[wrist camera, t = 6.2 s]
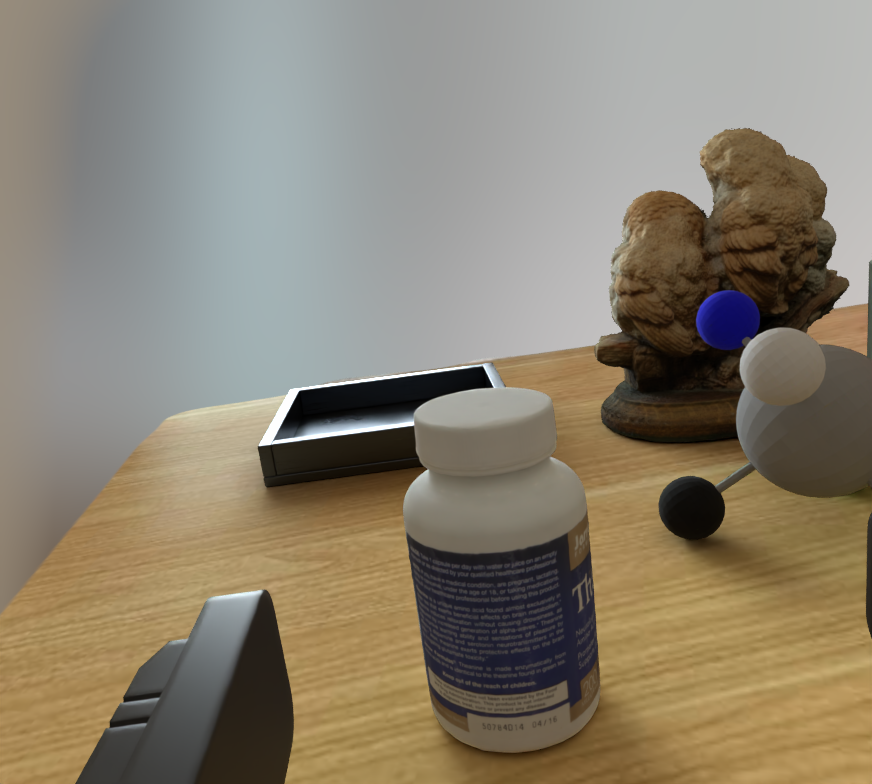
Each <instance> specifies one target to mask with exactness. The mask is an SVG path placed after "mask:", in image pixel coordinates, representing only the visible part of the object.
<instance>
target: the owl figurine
mask: <svg viewBox="0 0 872 784" xmlns="http://www.w3.org/2000/svg"><path fill="white" fill-rule="evenodd" d="M700 155H701V157H700V160H701V162H700V165H701V166H702V167H703V168H704V169H705V172H706V175H707V179H708V181H709V183H710V185H711V187H712V190H713V195H714V197H713V202H714V204H715V205H714V206H713V211H712V213H711V216H710V217H709V218H706V215H705V213H704V210H702V211H701V210H700V209H699V207H698V206H696V205H695V204H693V203H692V202H691V201H690V200H688V199H687V198H686V197H684V196H682V195H680V194H676V193H674V192H667V191H656V192H655V191H653V192H652V191H651V192H648V193H645V194H644V195H642V196H640V197H638V198H636V199H635V200H634V201H633V203H632V204H631V205H630V206H629V207H628V208H627V213H626V215H625V217H624V220H623V230H622V237H623V240H622V241H623V243H622V244H621V245H620V246H619V247H618V248H616V249H615V251H614V253H613V254H612V258H611V264H612V266H611V275H612V276H611V279H612V284H611V286H610V287H609V293H610V302H611V306H612V312H611V313H612V318H613V319H614V321H615V322H616V324H618V325H619V327H620V328H621V330H622V332H621V333H618V334H610V335H607V336H602V337H601V338H600V340H599V343H597V344H596V345H595V348H594V352H595V356H596V358H597V360H598V361H599V362H600V363H603V364H605V365H608V366H613V367H619V366H620V367H622V368H624V373H625V381H623V382H622V383H620V384H619V385H618V386H617V387H616V389H615V391H614V393H613V394H611V395H610V396H609V397H608V398H607V399H606V400H605V401H604V403H603V404H602V407H601V415H602V420H603V421H602V422H603V423H604V424H605V425H606V426H608V428H610V429H612V430H613V431H614V432H618V433H620V434H622V435H625V436H628V437H633V438H643V439H645V440H648V441H654V442H673V441H674V442H688V441H699V440H717V439H721V438H731V437H737V436H738V433H737V426H736V414H737V407H738V402H739V399H740V396H741V394H742V391H743V389H744V388H745V385H744V383H743V381H742V379H741V375H740V359H741V357H742V354H743V351H744V349H745V348H746V347H745V346H742V347H740V348H737V349H732V350H721V349H718V348H714V347H712V346H711V345H709V344H708V343H706V342H705V341H704V340H703V339H702V337H701V336H700V334H699V332H698V329H697V324H696V318H697V313H698V310H699V308H700V306H701V304H702V303H703V302H704V301H705V300H706V299H707V298H708V297H709V296H711V295H713V294H715V293H717V292H720V291H726V290H732V291H738V292H741V293H744V294H745V295H747V296H749V297H750V298H751V299H752V300H753V301H754V302H755V304H756V306H757V307H758V310H759V314H760V324H759V328H758V330H757V333H756V334H755V336H754V337H753V339H754V338H755V337H756V336H757V335H759V334H761V333H763V332H765V331H767V330H770V329H775V328H792V329H796V330H799V331H802V332H804V333H806V332H807V330H808V329H807V328H808V327H809V326H811V324H813V322H814V321H816V320H817V319H821V318H822V317H823V315H826V314H828V313H830V312H829V311H831V310H832V309H833V305H834V303H835V302H836V301H837V300H838V299H840V296H841V295H842V294H843V293H844V292H845V291H846V289H847V288H848V286H849V281H848V280H847V279H846V278H843V277H841V276H839V277H838V276H837V275H836V274H837V271H835V270H828V269H827V268H826V266H827V265H826V263H827V262H828V260H829V259H830V257H831V256H832V247H833V246H834V245H835V241H836V233H835V231H834V228H833V227H832V226H831V225H830V223H829V222H828V221H826V220H824V219H822V214H823V212H824V210H825V197H826V194H827V187H826V184H825V183H824V182H823V181H822V180H821V179H820V178H819V175H818V173H817V171H816V170H815V169H814V167H813V166H811V165H810V164H809V163H807V162H805V161H803V160H799V159H797V158H795V156H793V157H792V156H790V155H786V152H785V150H784V148H783V146H782V145H781V144H780V143H778V142H776V140H772V139H770V138H769V137H768V136H766V135H763V134H762V133H761V132H758V131H754V130H752V129H750V128H748V129H747V128H744V129H740V128H739V129H736V130H735V129H734V130H725V131H723V132H721V133H719V134H718V135H716V136H714V137H713V138H712V139H710V140H709V141H708V143H707V144H706V146H704V147H703V149H702V151H700Z"/></svg>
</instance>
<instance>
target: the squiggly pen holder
mask: <svg viewBox="0 0 872 784" xmlns="http://www.w3.org/2000/svg"><path fill="white" fill-rule="evenodd" d="M867 357H868V358H870V359H872V260H871V261H870V262H869V297H868V342H867Z"/></svg>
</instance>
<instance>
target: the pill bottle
mask: <svg viewBox="0 0 872 784" xmlns="http://www.w3.org/2000/svg"><path fill="white" fill-rule="evenodd" d="M414 429H415V438H416V453H417V455H418V456H419V459H420V462H421V463H422V465H423V466H424V467H426V468H427V469H428V470H426V471H425V472H423V473H422V474H421V475H420V476H419V477H417V478H416V479H415V480H414V482H413V483H412V484H411V486H410V487H409V489H408V491H407V493H406V495H405V499H404V504H403V516H404V524H405V531H406V538H407V544H408V550H409V559H410V564H411V570H412V578H413V584H414V591H415V598H416V605H417V612H418V619H419V626H420V633H421V640H422V646H423V653H424V660H425V666H426V673H427V680H428V685H429V691H430V697H431V704H432V708H433V711H434V713H435V715H436V717H437V719H438V721H439V723H440V724H441V726H442V727H443V728H444V729H445V730H446V731H448V732H449V733H450V734H451V735H452V736H453V737H454V738H456V739H457V740H459V741H461V742H463V743H465V744H468V745H470V746H472V747H476V748H479V749H481V750H485V751H495V752H505V753H507V752H508V753H518V752H527V751H534V750H539V749H543V748H546V747H549V746H552V745H555V744H558V743H560V742H563V741H565V740H566V739H568V738H570V737H572V736H573V735H575V734H576V733H578V732H579V731H580V730H581V729H582V728H583V727H584V726H585V725H586V724H587V723H588V722H589V720H590V719H591V717H592V715H593V714H594V712H595V710H596V708H597V706H598V702H599V699H600V672H599V658H598V643H597V632H596V614H595V603H594V586H593V576H592V564H591V552H590V541H589V522H588V515H587V503H586V496H585V491H584V487H583V484H582V482H581V480H580V479H579V477H578V476H577V474H576V473H575V472H574V471H573V470H572V469H571V468H570V467H569V466H567V465H566V464H564V463H563V462H561V461H559V460H557V459H555V458H553V457H550V456H551V455H552V454H553V453H554V451H555V449H556V440H557V432H556V424H555V416H554V409H553V403H552V399H551V398H550V397H549V396H548V395H546V394H544V393H542V392H539V391H535V390H530V389H523V388H482V389H474V390H467V391H462V392H457V393H453V394H448V395H444V396H441V397H438V398H435V399H432V400H430V401H428V402H426V403H424V404H423V405H421V406H420V407H419V408H418V409H417V410H416V411H415V413H414Z"/></svg>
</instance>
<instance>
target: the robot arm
mask: <svg viewBox="0 0 872 784" xmlns="http://www.w3.org/2000/svg"><path fill="white" fill-rule="evenodd" d="M866 617H867V624H868V628H869V632H870V635H871V638H872V513H871V515H870V517H869V521H868V530H867V587H866ZM123 698H124V702H123V703H120V704H119V706H118V708H117V710H116V711H115V713H114V715H113V717H112V719H111V720H110V728H107V729H105V731H104V733H103V735H102V737H101V738H100V740H99V742H98V744H97V746H96V747H95V749H94V751H93V753H92V755H91V756H90V758H89V760H88V762H87V764H86V765H85V767H84V769H83V771H82V773H81V774H80V776H79V778H78V780H77V782H76V783H75V784H284V783H285V778H286V773H287V768H288V763H289V758H290V753H291V748H292V742H293V730H294V716H293V702H292V694H291V689H290V684H289V679H288V674H287V669H286V664H285V659H284V654H283V649H282V645H281V640H280V635H279V630H278V625H277V620H276V615H275V610H274V606H273V602H272V599H271V596H270V594H269V592H268V591H267V590H259V591H252V592H244V593H237V594H230V595H223V596H215V597H210V598H208V599H207V601H206V602H205V604H204V606H203V608H202V611H201V613H200V615H199V617H198V619H197V621H196V623H195V625H194V627H193V629H192V631H191V633H190V635H189V637H188V639H183V640H176V641H169V642H168V643H167V644H166V645H165V646H164V647H163V648H161V649H160V650H159V651H158V652H157V653H156V654H155V655H154V656H153V657H151V658H150V659H149V660H148V661H147V662H146V663H145V664H144V665H142V666H141V667H140V668H139V670H138V672H137V674H136V675H135V677H134V679H133V681H132V683H131V684H130V686H129V688H128V690H127V692H126V693H125V695H124V697H123Z"/></svg>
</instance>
